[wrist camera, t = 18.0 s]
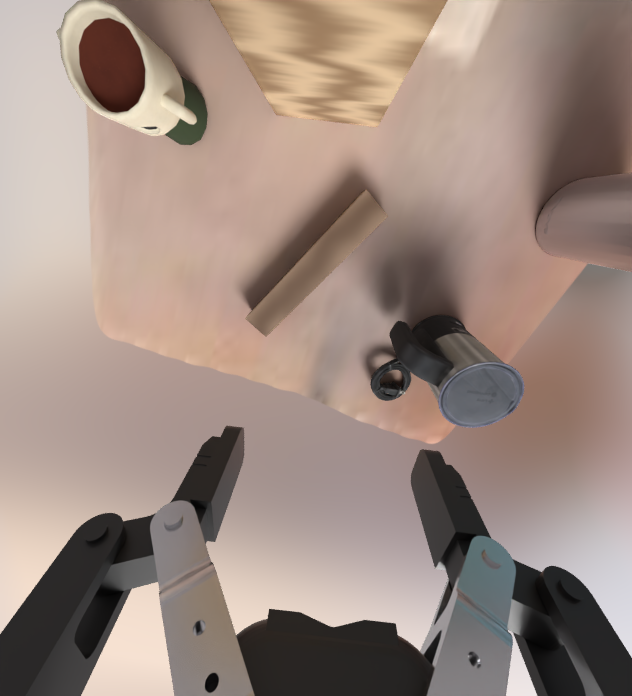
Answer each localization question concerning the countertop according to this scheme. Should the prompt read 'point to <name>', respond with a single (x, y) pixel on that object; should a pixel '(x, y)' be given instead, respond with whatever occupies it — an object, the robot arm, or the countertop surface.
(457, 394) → the milk frother
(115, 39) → the character mug
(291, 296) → the rod
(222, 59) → the countertop surface
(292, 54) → the stand
